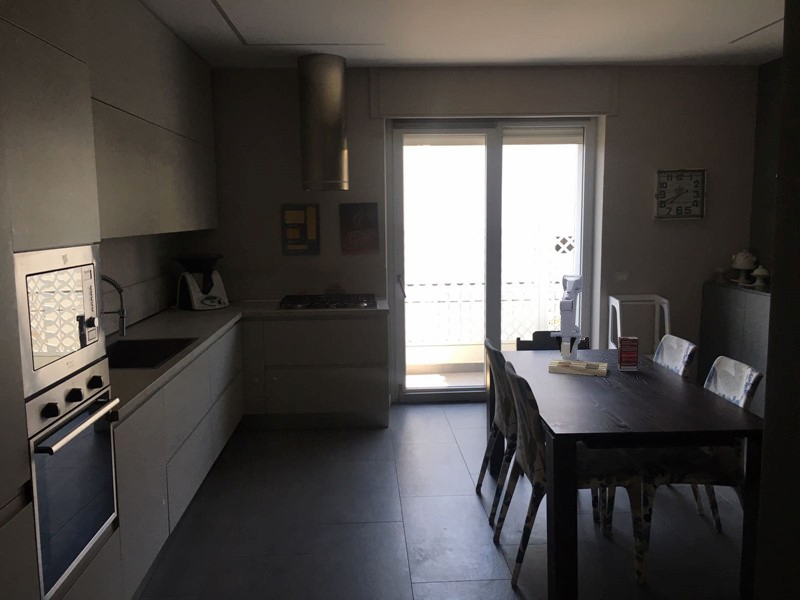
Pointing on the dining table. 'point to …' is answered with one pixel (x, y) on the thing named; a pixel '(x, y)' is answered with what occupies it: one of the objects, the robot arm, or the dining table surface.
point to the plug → (565, 349)
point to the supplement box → (628, 353)
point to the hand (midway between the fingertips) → (565, 352)
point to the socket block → (578, 367)
